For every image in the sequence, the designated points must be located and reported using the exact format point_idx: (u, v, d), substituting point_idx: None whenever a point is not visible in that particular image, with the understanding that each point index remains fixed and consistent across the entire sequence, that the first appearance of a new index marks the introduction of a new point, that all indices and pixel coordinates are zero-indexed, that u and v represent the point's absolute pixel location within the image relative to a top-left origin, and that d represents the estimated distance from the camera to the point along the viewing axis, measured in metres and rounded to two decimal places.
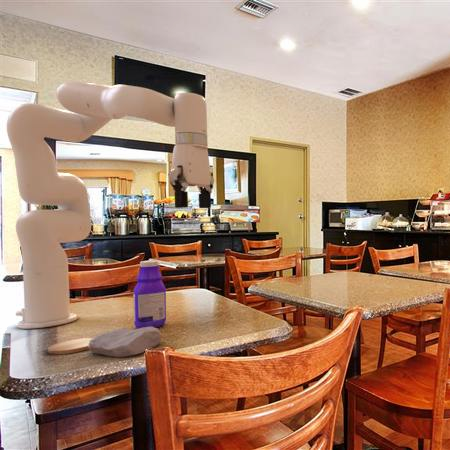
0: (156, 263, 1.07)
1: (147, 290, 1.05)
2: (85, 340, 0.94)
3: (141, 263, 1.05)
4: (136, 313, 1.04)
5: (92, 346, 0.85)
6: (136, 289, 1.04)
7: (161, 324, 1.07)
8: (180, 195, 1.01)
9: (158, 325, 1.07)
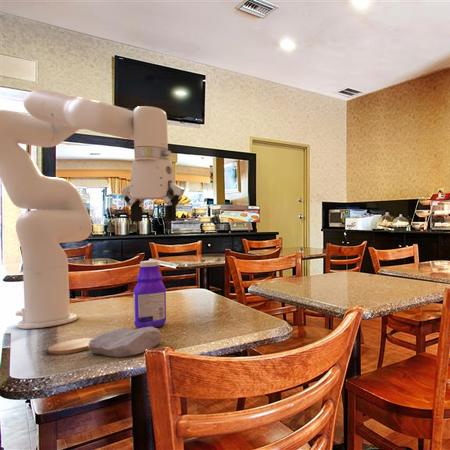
0: (156, 263, 1.07)
1: (147, 290, 1.05)
2: (85, 340, 0.94)
3: (141, 263, 1.05)
4: (136, 313, 1.04)
5: (92, 346, 0.85)
6: (136, 289, 1.04)
7: (161, 324, 1.07)
8: None
9: (158, 325, 1.07)
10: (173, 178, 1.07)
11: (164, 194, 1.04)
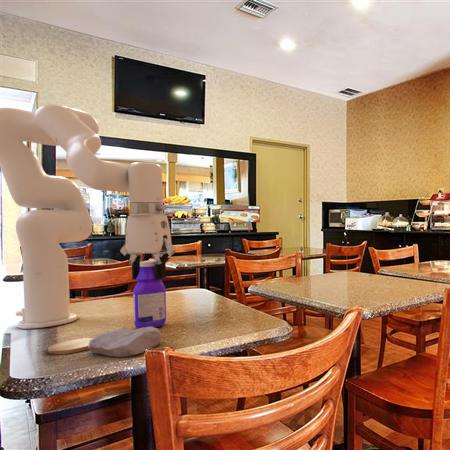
0: (156, 263, 1.07)
1: (147, 290, 1.05)
2: (85, 340, 0.94)
3: (141, 263, 1.05)
4: (136, 313, 1.04)
5: (92, 346, 0.85)
6: (136, 289, 1.04)
7: (161, 324, 1.07)
8: None
9: (158, 325, 1.07)
10: (168, 232, 1.08)
11: (159, 249, 1.05)
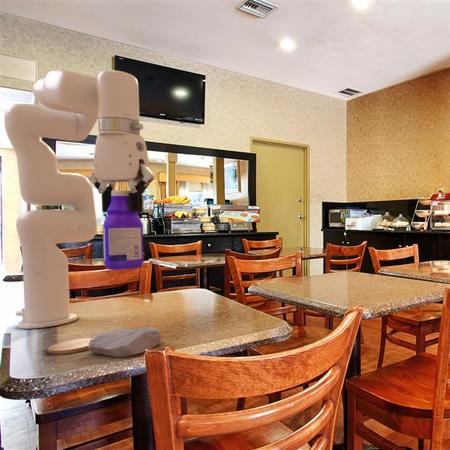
0: None
1: (119, 224, 0.88)
2: (85, 340, 0.94)
3: (112, 192, 0.89)
4: (106, 250, 0.87)
5: (92, 346, 0.85)
6: (106, 222, 0.88)
7: (137, 265, 0.91)
8: None
9: (133, 266, 0.90)
10: (146, 156, 0.91)
11: (134, 175, 0.88)
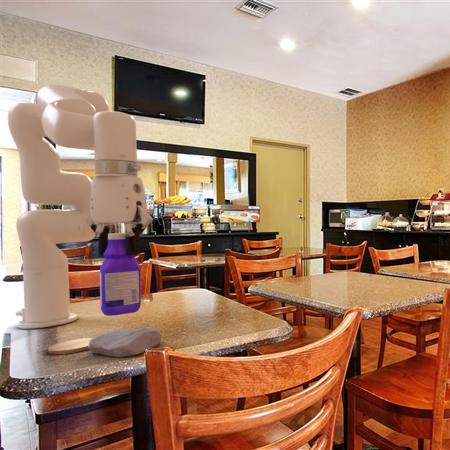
0: (128, 235, 0.88)
1: (116, 268, 0.86)
2: (85, 340, 0.94)
3: (109, 235, 0.86)
4: (103, 296, 0.85)
5: (92, 346, 0.85)
6: (103, 266, 0.85)
7: (134, 310, 0.88)
8: None
9: (130, 311, 0.87)
10: (143, 198, 0.89)
11: (131, 218, 0.86)
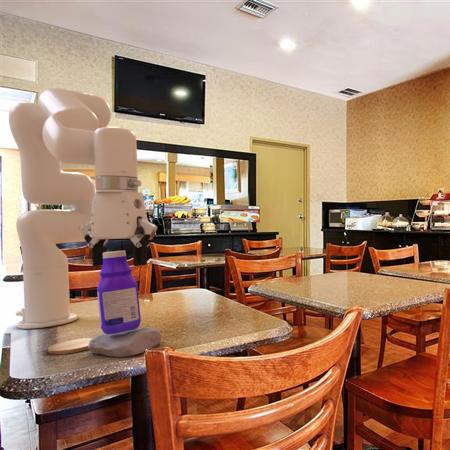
0: (123, 253, 0.88)
1: (113, 286, 0.86)
2: (85, 340, 0.94)
3: (104, 254, 0.86)
4: (102, 315, 0.85)
5: (92, 346, 0.85)
6: (100, 286, 0.85)
7: (135, 326, 0.88)
8: None
9: (131, 328, 0.88)
10: (144, 213, 0.89)
11: (132, 234, 0.86)
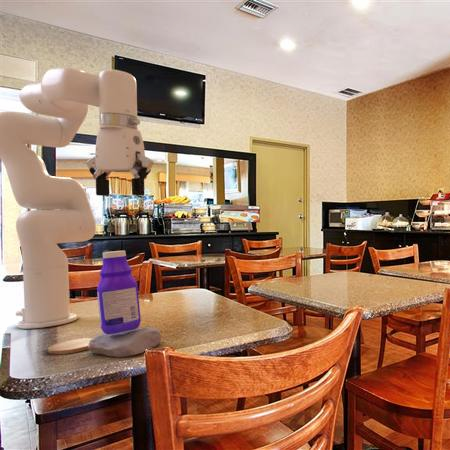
0: (123, 253, 0.88)
1: (113, 286, 0.86)
2: (85, 340, 0.94)
3: (104, 254, 0.86)
4: (102, 315, 0.85)
5: (92, 346, 0.85)
6: (100, 286, 0.85)
7: (135, 326, 0.88)
8: None
9: (131, 328, 0.88)
10: (142, 149, 0.99)
11: (131, 166, 0.96)
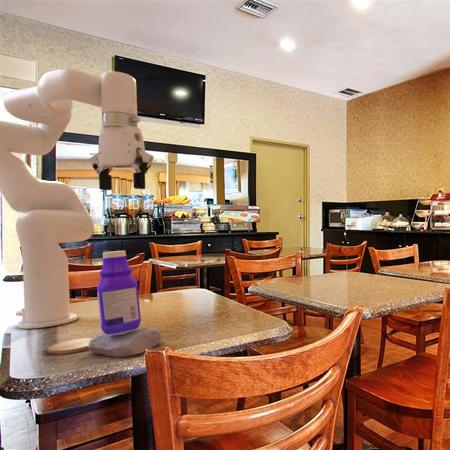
0: (123, 253, 0.88)
1: (113, 286, 0.86)
2: (85, 340, 0.94)
3: (104, 254, 0.87)
4: (102, 315, 0.85)
5: (92, 346, 0.85)
6: (100, 286, 0.85)
7: (135, 326, 0.88)
8: None
9: (131, 328, 0.88)
10: (142, 145, 1.06)
11: (132, 161, 1.03)
